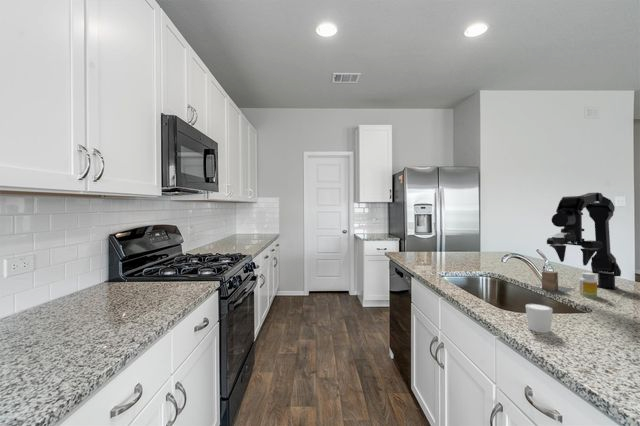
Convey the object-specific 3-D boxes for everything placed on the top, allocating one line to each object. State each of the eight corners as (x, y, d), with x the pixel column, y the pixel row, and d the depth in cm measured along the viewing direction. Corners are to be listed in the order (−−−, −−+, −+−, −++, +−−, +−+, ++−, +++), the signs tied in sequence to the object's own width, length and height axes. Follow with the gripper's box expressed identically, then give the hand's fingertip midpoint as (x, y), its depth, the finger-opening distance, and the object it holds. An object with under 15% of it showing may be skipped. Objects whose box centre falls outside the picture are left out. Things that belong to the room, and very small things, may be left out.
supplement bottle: (600, 298, 121) (600, 274, 121) (587, 298, 121) (587, 275, 121) (589, 294, 127) (588, 272, 127) (576, 294, 127) (576, 272, 127)
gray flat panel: (544, 284, 145) (544, 283, 145) (575, 289, 135) (575, 288, 135) (531, 288, 137) (531, 288, 137) (562, 294, 127) (562, 293, 127)
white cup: (545, 335, 88) (545, 312, 88) (521, 327, 94) (520, 305, 94) (557, 330, 91) (557, 308, 91) (533, 323, 97) (532, 302, 97)
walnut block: (546, 287, 137) (546, 270, 137) (558, 289, 134) (557, 272, 134) (542, 289, 135) (541, 271, 135) (553, 291, 131) (553, 273, 131)
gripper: (536, 225, 131) (536, 260, 131) (580, 227, 113) (581, 268, 113) (556, 225, 133) (557, 259, 133) (603, 227, 115) (604, 267, 115)
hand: (573, 263), depth 123 cm, fingers open, 9 cm apart
